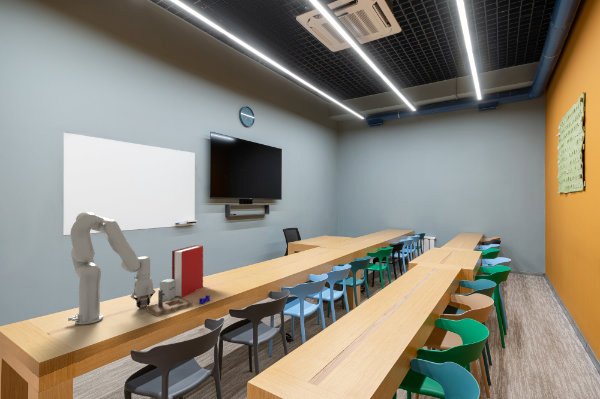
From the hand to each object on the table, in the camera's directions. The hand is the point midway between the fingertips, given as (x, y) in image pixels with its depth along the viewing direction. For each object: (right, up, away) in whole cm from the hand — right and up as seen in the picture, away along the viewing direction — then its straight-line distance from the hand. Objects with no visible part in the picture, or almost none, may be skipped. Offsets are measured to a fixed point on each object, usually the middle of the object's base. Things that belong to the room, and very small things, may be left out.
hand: (143, 305), depth 187 cm
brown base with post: (+17, -1, 0) cm, 17 cm away
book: (+16, -2, +34) cm, 38 cm away
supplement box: (+8, -2, +17) cm, 19 cm away
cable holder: (+35, -2, +10) cm, 36 cm away
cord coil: (0, -1, 0) cm, 1 cm away
